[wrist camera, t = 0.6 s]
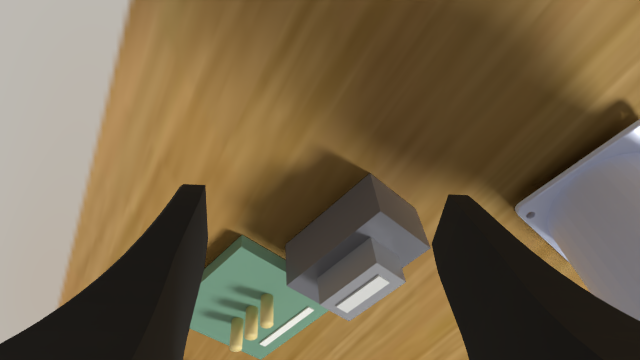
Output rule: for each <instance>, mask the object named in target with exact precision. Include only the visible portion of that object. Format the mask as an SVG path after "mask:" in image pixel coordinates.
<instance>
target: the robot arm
mask: <svg viewBox="0 0 640 360" xmlns="http://www.w3.org/2000/svg"><path fill="white" fill-rule="evenodd" d="M515 211H516V213H517V214H518V216H519V217H521V218H522V219H523V220H524V221H525V222H526V223H527V224H528V225H529V226H530V227H531V228H532V229H534V230H535V231H536V232H537V233H538V234H539V235H540V236H541V237H542V238H543V239H544V240H545V241H547V242H548V243H549V244H550V245H551V246H552V247H553V248H554V249H555V250H556V251H557V252H558V253H560V254H561V255H562V256H563V257H564V258H565V259H566V260H567V261H568V262H569V263H570V264H571V265H572V266H573V268H574V269H575V271H576V272H577V274H578V275H579V277H580V278H581V279H582V281H583V282H584V284H585V285H586V287H587V288H588V290H589V291H590V292H591V293H590V292H588V291H586V290H585V289H583V288H582V287H580V286H579V285H577V284H576V283H574V282H573V281H571V280H570V279H568V278H567V277H566V276H564V275H563V274H561V273H560V272H558V271H557V270H556V269H554V268H553V267H551V266H550V265H549V264H548V263H546V262H545V261H544V260H542V259H541V258H540V257H539V256H537V255H536V254H535V253H534V252H532V251H531V250H530V249H529V248H527V247H526V246H525V245H524V244H523V243H521V242H520V241H519V240H518V239H517V238H516V237H515V236H513V235H512V234H511V233H510V232H509V231H508V230H507V229H505V228H504V227H503V226H502V225H501V224H500V223H499V222H498V221H497V220H495V219H494V218H493V217H492V216H491V215H490V214H489V213H488V212H487V211H486V210H484V209H483V208H482V207H481V206H480V205H479V204H478V203H477V202H475V201H474V200H473V199H472V198H471V197H469V196H468V195H448V198H447V201H446V204H445V207H444V209H443V212H442V215H441V218H440V221H439V224H438V227H437V230H436V233H435V236H434V239H433V242H432V247H433V252H434V257H435V261H436V265H437V270H438V274H439V276H440V279H441V282H442V285H443V287H444V290H445V293H446V295H447V298H448V301H449V303H450V306H451V309H452V311H453V314H454V316H455V319H456V322H457V324H458V327H459V330H460V332H461V335H462V338H463V341H464V344H465V347H466V350H467V353H468V357H469V360H640V119H639V120H638V121H636V122H634V123H633V124H631V125H630V126H629V127H627V128H626V129H624V130H623V131H621V132H620V133H619V134H617V135H616V136H614V137H613V138H611V139H610V140H608V141H607V142H606V143H604V144H603V145H601V146H600V147H598V148H597V149H595V150H594V151H593V152H591V153H590V154H588V155H587V156H585V157H584V158H582V159H581V160H580V161H578V162H577V163H575V164H574V165H572V166H571V167H570V168H568V169H567V170H565V171H564V172H562V173H561V174H559V175H558V176H557V177H555V178H554V179H552V180H551V181H549V182H548V183H546V184H545V185H544V186H542V187H541V188H539V189H538V190H536V191H535V192H533V193H532V194H531V195H529V196H528V197H526V198H525V199H523V200H522V201H521V202H519V203H518V204H517V205H516V207H515ZM529 212H531V213H529ZM528 213H529V214H528ZM207 242H208V230H207V210H206V191H205V185H189V184H183V185H182V186H181V187H179V189H178V190H177V192H176V193H175V195H174V196H173V197H172V199H171V200H170V202H169V203H168V204H167V206H166V207H165V208H164V210H163V211H162V212H161V213H160V215H159V216H158V217H157V218H156V220H155V221H154V222H153V223H152V224H151V225H150V227H149V228H148V229H147V230H146V231H145V233H144V234H143V235H142V236H141V237H140V238H139V239H138V240H137V241H136V242H135V243H134V244H133V245H132V246H131V248H130V249H129V250H128V251H127V252H126V253H125V254H124V255H123V256H122V257H121V258H120V259H119V260H118V261H117V262H116V263H114V264H113V265H112V266H111V267H110V268H109V269H108V270H107V271H106V272H104V273H103V274H102V275H101V276H100V277H99V278H98V279H96V280H95V281H94V282H93V283H91V284H90V285H89V286H88V287H86V288H85V289H84V290H83V291H81V292H80V293H79V294H78V295H76V296H75V297H74V298H72V299H71V300H70V301H68V302H67V303H65V304H64V305H63V306H61V307H60V308H58V309H57V310H55V311H54V312H52V313H51V314H49V315H48V316H46V317H45V318H43V319H42V320H40V321H39V322H37V323H35V324H34V325H32V326H31V327H29V328H27V329H26V330H24V331H22V332H21V333H19V334H17V335H15V336H14V337H12V338H10V339H8V340H6V341H4V342H3V343H1V344H0V360H183V356H184V350H185V345H186V340H187V336H188V332H189V328H190V324H191V320H192V316H193V312H194V308H195V304H196V300H197V296H198V292H199V288H200V284H201V280H202V276H203V272H204V266H205V258H206V250H207Z"/></svg>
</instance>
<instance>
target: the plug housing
mask: <svg viewBox="0 0 640 360" xmlns="http://www.w3.org/2000/svg"><path fill="white" fill-rule="evenodd" d="M285 248H286V285H287V286H288V287H290V288H291V289H293V290H295V291H297V292H299V293H300V294H302V295H304V296H306V297H308V298H310V299H311V300H313V301H315V302H317V303H319V304H320V305H321V306H322V307H324V308H326V309H328V310H330V311H331V312H333V313H335V314H337V315H339V316H341V317H342V318H344V319H346V320H348V321H350V320H352V319H353V318H355V317H356V316H358V315H359V314H360V313H362V312H363V311H365V310H366V309H368V308H369V307H371V306H372V305H373V304H375V303H376V302H378V301H379V300H381V299H382V298H384V297H385V296H386V295H388V294H389V293H391V292H392V291H394V290H395V289H397V288H398V287H399V286H401V285H402V284H404V283H405V282H406V281H405V277H404V274H403V270H402V268H403V267H405V266H406V265H407V264H409V263H410V262H412V261H413V260H414V259H416V258H417V257H419V256H420V255H421V254H423V253H424V252H426V251H427V250H428V249H430V245H429V243H428V240H427V237H426V235H425V232H424V230H423V227H422V224H421V222H420V219H419V216H418V214H417V211H416V209H415V208H414V207H412V206H411V205H410V204H409V203H407V202H406V201H405V200H404V199H402V198H401V197H400V196H398V195H397V194H396V193H395V192H393V191H392V190H391V189H390V188H388V187H387V186H386V185H384V184H383V183H382V182H381V181H379V180H378V179H377V178H375V177H374V176H373V175H372V174H370V173H369V174H368V175H367V176H366V177H365V178H364V179H362V180H361V181H360V182H359V183H358V184H356V185H355V186H354V187H353V188H352V189H351V190H349V191H348V192H347V193H346V194H345V195H343V196H342V197H341V198H340V199H339V200H338V201H336V202H335V203H334V204H333V205H332V206H330V207H329V208H328V209H327V210H326V211H325V212H323V213H322V214H321V215H320V216H319V217H317V218H316V219H315V220H314V221H313V222H312V223H310V224H309V225H308V226H307V227H306V228H305V229H303V230H302V231H301V232H300V233H299V234H297V235H296V236H295V237H294V238H293V239H292V240H290V241H289V242H288V243H287V244H286V245H285Z"/></svg>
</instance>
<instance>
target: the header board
mask: <svg viewBox="0 0 640 360" xmlns="http://www.w3.org/2000/svg"><path fill="white" fill-rule="evenodd" d="M327 311H329V310H328V309H326V308H324V307H322V306H321V305H320V304H319V303H317V302H315V301H313V300H311V299H310V298H308V297H306V296H304V295H302V294H300V293H299V292H297V291H295V290H293V289H291V288H290V287H288V286H287V285H286V260H284V259H283V258H281V257H279V256H278V255H276V254H274V253H272V252H271V251H269V250H267V249H266V248H264V247H262V246H260V245H259V244H257V243H255V242H254V241H252V240H250V239H248V238H247V237H245V236H243V235H241V236H240V237H239V238H238V239H237V240H236V241H235V242H234V243H233V244H231V245H230V246H229V247H228V248H227V249H226V250H225V251H224V252H223V253H222V254H220V255H219V256H218V257H217V258H216V259H215V260H214V261H213V262H212V263H211V264H209V265H208V266H207V267H206V268H205V269H204V272H203V276H202V280H201V284H200V288H199V292H198V296H197V300H196V304H195V308H194V312H193V316H192V320H191V324H190V329H192V330H195V331H197V332H199V333H201V334H204V335H206V336H208V337H211V338H213V339H215V340H217V341H220V342H222V343H224V344H227V345H229V349H230V350H231V351H233V352H238V351H242V352H245V353H247V354H249V355H252V356H254V357H256V358H258V359H262V358H264V357H265V356H266V355H268V354H269V353H271V352H272V351H273V350H275V349H276V348H277V347H279V346H280V345H282V344H283V343H284V342H286V341H287V340H289V339H290V338H291V337H293V336H294V335H295V334H297V333H298V332H300V331H301V330H302V329H304V328H305V327H307V326H308V325H309V324H311V323H312V322H313V321H315V320H316V319H318V318H319V317H320V316H322V315H323V314H325V313H326V312H327Z"/></svg>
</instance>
